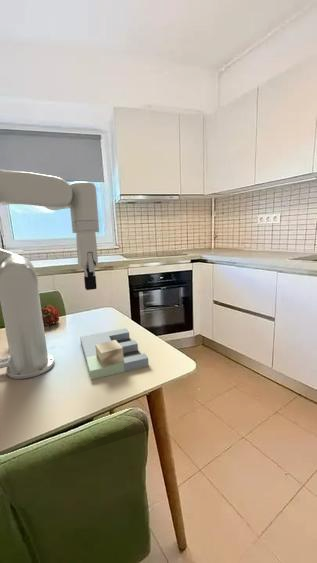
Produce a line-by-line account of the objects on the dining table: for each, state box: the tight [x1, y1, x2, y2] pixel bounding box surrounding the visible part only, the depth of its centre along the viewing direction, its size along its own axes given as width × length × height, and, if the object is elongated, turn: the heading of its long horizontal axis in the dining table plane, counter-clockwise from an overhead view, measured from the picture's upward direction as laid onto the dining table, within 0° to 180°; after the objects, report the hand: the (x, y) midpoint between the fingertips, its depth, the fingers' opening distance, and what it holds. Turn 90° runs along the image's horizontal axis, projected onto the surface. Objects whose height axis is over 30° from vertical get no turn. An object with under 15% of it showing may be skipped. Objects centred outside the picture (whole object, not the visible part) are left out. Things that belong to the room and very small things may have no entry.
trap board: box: [79, 327, 149, 380], centre depth 86 cm, size 16×24×2 cm, turn 21°
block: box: [95, 340, 124, 367], centre depth 77 cm, size 6×6×4 cm
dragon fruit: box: [41, 304, 60, 326], centre depth 114 cm, size 8×8×12 cm
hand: (90, 288), depth 84 cm, fingers closed
